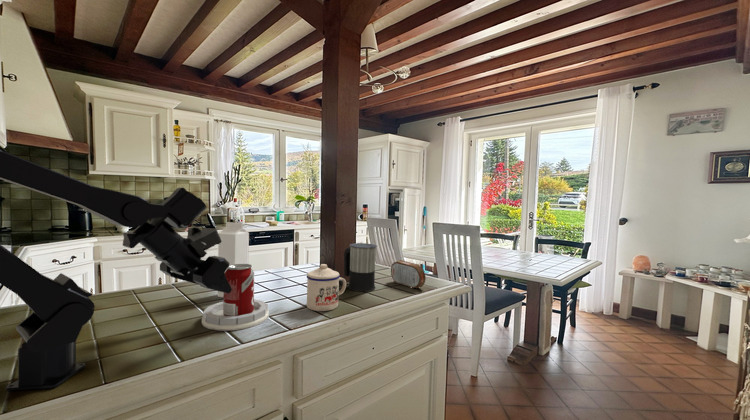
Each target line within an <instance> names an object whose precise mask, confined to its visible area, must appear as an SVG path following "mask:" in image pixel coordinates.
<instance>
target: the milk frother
mask: <svg viewBox="0 0 750 420" xmlns="http://www.w3.org/2000/svg"><path fill="white" fill-rule="evenodd" d="M377 247H378V246H377V245H376V244H373V243H363V242H362V243H361V242H358V243H357V242H356V243H350V244H349V246H348V247H346V248H345V250H344V252H343V264H344V265H343V266H344V267H343V270H344V271H343V272H344V276H345V277H348V278H349V279H348V283H346V286H347V287H348V289H349V290H350V291H351V290H352V291H353V292H355V291H356V292H363V293H364V292H372V291H374V290H375V289H376V285H375V284H376V283H375V279H376V278H375V277H376V276H375V274H376V271H375V270H376V255H377V254H376V253H377ZM339 286H341V287H339V291H340V290H341V289H342V286H343V281H342V280H339ZM339 291H338V292H339Z"/></svg>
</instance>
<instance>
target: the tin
mask: <svg viewBox="0 0 750 420" xmlns="http://www.w3.org/2000/svg"><path fill="white" fill-rule="evenodd" d="M390 275H391V279H392V280H393V281H394V283H396V284H398V283H399V284H398V285H400V284H402V286H404V285H405V286H404V287H407V286H408V287H407V288H410V287H412V288H411V289H413V288H416V289H418V288H419V287H420V288H422V287H423V286H424V285H425V282H426V273H425V270H424V268H423V267H422V266H421V265H420V264H418V263H415V262H414V263H413V262H409V261H406V260H402V259H401V260H398V261H395V262H393V263H392V264H391V266H390Z"/></svg>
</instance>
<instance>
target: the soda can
mask: <svg viewBox="0 0 750 420" xmlns="http://www.w3.org/2000/svg"><path fill="white" fill-rule="evenodd" d="M225 276H226V279H227V281H228V282H229V284H230V286H231V288H232V291H231V292H230V293H229V294H228V293H224V298H223V301H222V302H223V315H224V316H240V315H245V314H250V313H252V312H253V311H254V299H255V272H254V269H253V268H252V264H250V263H248V264H233V265H229V267H228V268H227V270H226V272H225Z"/></svg>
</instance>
